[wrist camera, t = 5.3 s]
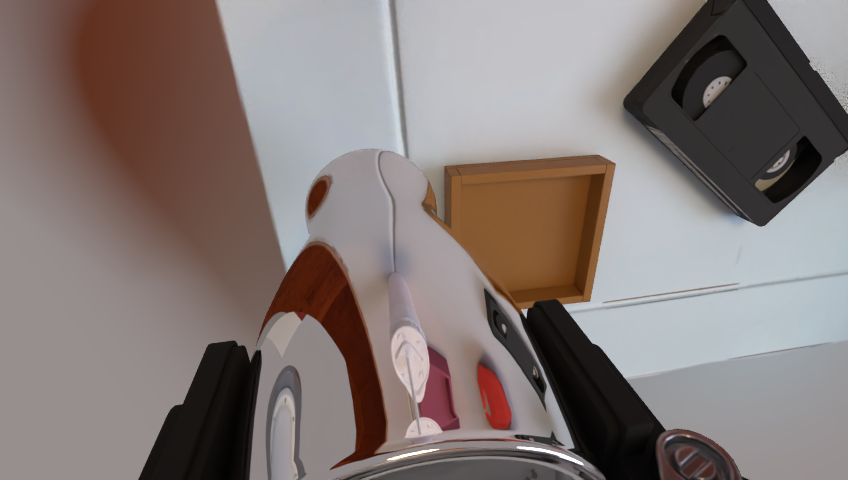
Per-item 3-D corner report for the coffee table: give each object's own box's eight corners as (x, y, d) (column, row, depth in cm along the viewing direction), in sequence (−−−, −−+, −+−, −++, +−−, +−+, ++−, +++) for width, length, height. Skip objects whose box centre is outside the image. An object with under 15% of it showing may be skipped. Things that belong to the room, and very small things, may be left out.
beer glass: (378, 103, 18) (485, 340, 4) (471, 214, 21) (696, 546, 8) (261, 207, 19) (69, 641, 6) (367, 298, 22) (403, 710, 9)
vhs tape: (620, 103, 26) (640, 109, 24) (722, -17, 23) (752, -21, 22) (739, 217, 31) (762, 229, 29) (831, 129, 29) (862, 135, 27)
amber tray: (445, 301, 31) (450, 317, 29) (444, 165, 26) (450, 176, 24) (577, 286, 32) (590, 301, 30) (599, 154, 27) (616, 163, 25)
